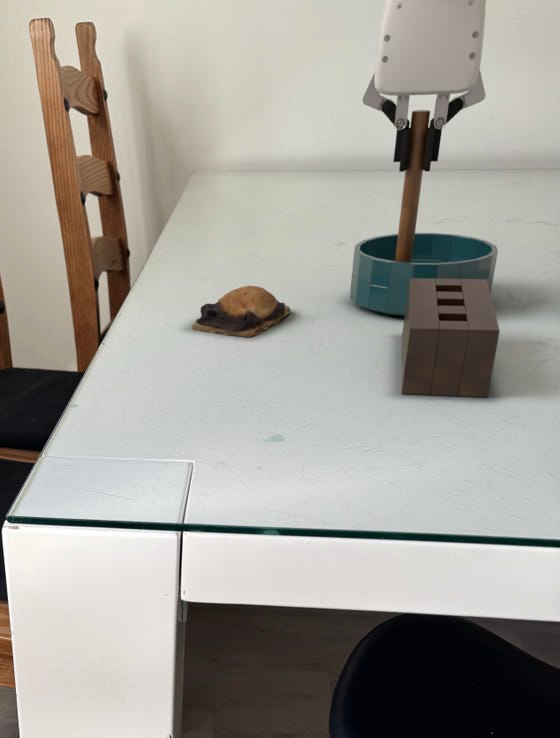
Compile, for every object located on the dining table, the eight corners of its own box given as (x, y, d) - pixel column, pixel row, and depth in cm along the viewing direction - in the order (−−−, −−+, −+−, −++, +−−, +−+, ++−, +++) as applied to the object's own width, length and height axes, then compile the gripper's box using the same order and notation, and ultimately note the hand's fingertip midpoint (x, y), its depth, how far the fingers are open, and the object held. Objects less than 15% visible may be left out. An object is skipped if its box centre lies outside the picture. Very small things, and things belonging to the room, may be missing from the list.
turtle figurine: (231, 305, 118) (232, 273, 116) (297, 314, 114) (299, 280, 112) (184, 329, 111) (184, 295, 109) (252, 339, 107) (253, 303, 105)
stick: (408, 287, 114) (430, 109, 104) (408, 291, 113) (430, 111, 103) (391, 286, 114) (412, 110, 105) (391, 290, 113) (412, 112, 103)
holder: (476, 339, 103) (486, 279, 100) (487, 397, 89) (499, 330, 86) (401, 337, 105) (409, 277, 101) (401, 394, 91) (410, 328, 88)
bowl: (483, 286, 119) (492, 233, 116) (492, 323, 107) (502, 265, 104) (352, 284, 123) (357, 232, 120) (346, 319, 111) (351, 263, 107)
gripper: (523, -44, 98) (490, 162, 108) (356, -34, 101) (340, 164, 112) (530, -44, 92) (495, 174, 102) (353, -33, 95) (336, 176, 106)
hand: (414, 168), depth 107 cm, fingers closed on stick, 1 cm apart
